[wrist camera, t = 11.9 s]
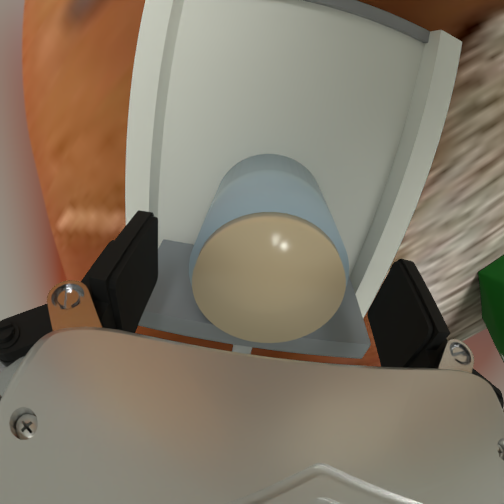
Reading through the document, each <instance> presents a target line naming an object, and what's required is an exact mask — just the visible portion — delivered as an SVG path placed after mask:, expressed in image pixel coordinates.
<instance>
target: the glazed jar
mask: <svg viewBox="0 0 504 504" xmlns="http://www.w3.org/2000/svg"><path fill="white" fill-rule="evenodd" d="M348 277H349V261H348V256H347V252H346V249H345V247H344V244H343V242H342V239H341V237H340V234H339V232H338V229H337V227H336V224H335V222H334V220H333V217H332V215H331V213H330V210H329V208H328V206H327V203H326V201H325V199H324V196H323V194H322V192H321V190H320V187H319V185H318V183H317V181H316V179H315V178H314V176H313V175H312V174H311V172H310V171H309V170H308V169H307V168H306V167H304V166H303V165H302V164H301V163H299V162H297V161H296V160H294V159H291V158H289V157H286V156H283V155H278V154H259V155H255V156H251V157H248V158H246V159H244V160H242V161H240V162H238V163H237V164H235V165H234V166H233V167H232V168H231V169H230V170H229V171H228V172H227V173H226V174H225V176H224V177H223V178H222V180H221V182H220V184H219V186H218V189H217V191H216V193H215V196H214V198H213V200H212V203H211V205H210V207H209V210H208V212H207V214H206V217H205V219H204V222H203V224H202V227H201V229H200V231H199V234H198V236H197V239H196V241H195V244H194V246H193V249H192V252H191V255H190V260H189V278H190V283H191V286H192V290H193V295H194V298H195V301H196V303H197V305H198V307H199V309H200V310H201V312H202V313H203V314H204V316H205V317H206V318H207V319H208V320H209V321H210V322H211V323H212V324H214V325H215V326H216V327H218V328H219V329H221V330H222V331H224V332H226V333H228V334H230V335H232V336H234V337H237V338H240V339H243V340H247V341H252V342H259V343H279V342H286V341H291V340H295V339H298V338H301V337H303V336H306V335H308V334H310V333H312V332H314V331H316V330H317V329H319V328H320V327H322V326H323V325H324V324H325V323H327V322H328V321H329V320H330V319H331V318H332V317H333V315H334V314H335V313H336V311H337V310H338V308H339V306H340V305H341V302H342V300H343V297H344V293H345V289H346V285H347V282H348Z"/></svg>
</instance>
